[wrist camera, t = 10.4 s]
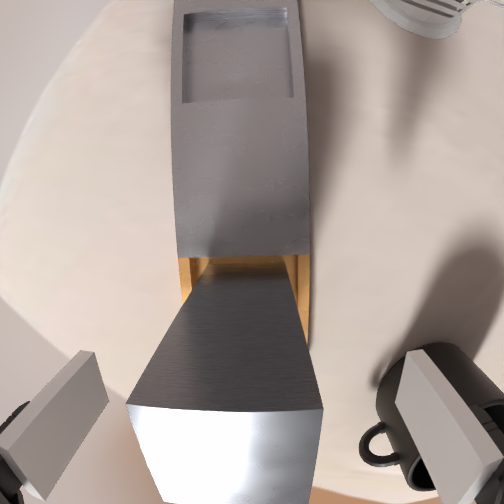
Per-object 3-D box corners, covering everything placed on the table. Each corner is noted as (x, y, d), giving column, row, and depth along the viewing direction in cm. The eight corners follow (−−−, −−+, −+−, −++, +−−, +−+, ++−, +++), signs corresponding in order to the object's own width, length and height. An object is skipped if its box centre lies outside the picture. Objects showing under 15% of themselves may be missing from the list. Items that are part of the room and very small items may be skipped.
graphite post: (284, 262, 20) (323, 408, 7) (284, 331, 22) (307, 506, 8) (207, 264, 21) (125, 403, 7) (213, 332, 22) (164, 501, 8)
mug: (336, 377, 23) (364, 460, 14) (463, 323, 22) (525, 376, 13) (355, 445, 25) (376, 517, 16) (462, 398, 24) (504, 453, 15)
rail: (292, -7, 17) (294, -21, 15) (302, 367, 23) (305, 381, 21) (181, 0, 17) (175, -13, 15) (198, 368, 23) (193, 382, 21)
